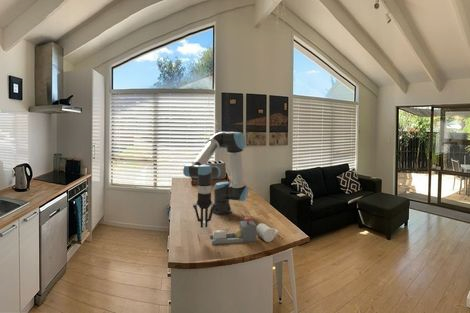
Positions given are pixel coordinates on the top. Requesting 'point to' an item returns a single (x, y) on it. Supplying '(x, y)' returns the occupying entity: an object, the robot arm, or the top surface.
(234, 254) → the top surface
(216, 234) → the fitting
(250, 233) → the valve rig
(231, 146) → the robot arm
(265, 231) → the mug
